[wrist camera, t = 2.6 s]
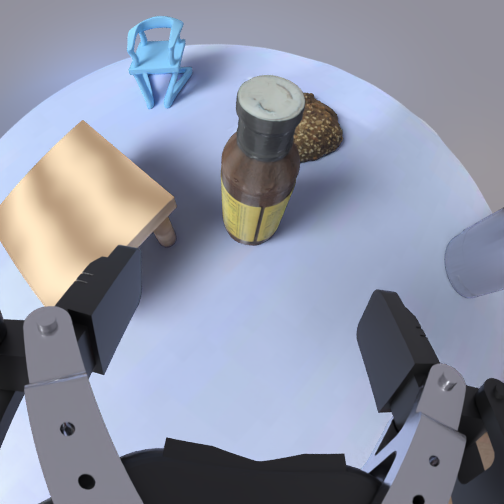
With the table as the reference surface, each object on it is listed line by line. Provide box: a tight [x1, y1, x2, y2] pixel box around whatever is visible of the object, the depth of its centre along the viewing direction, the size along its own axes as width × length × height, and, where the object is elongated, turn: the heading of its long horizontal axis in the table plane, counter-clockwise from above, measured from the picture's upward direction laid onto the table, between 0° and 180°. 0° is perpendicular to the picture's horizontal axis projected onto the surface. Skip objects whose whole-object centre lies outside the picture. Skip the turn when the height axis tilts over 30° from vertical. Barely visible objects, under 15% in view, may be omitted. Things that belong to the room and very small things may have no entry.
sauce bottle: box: [221, 75, 306, 246], centre depth 26 cm, size 6×6×20 cm
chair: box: [127, 16, 192, 109], centre depth 34 cm, size 8×8×12 cm
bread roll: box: [293, 93, 343, 162], centre depth 38 cm, size 13×12×5 cm
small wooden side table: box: [0, 120, 177, 307], centre depth 28 cm, size 14×14×10 cm
